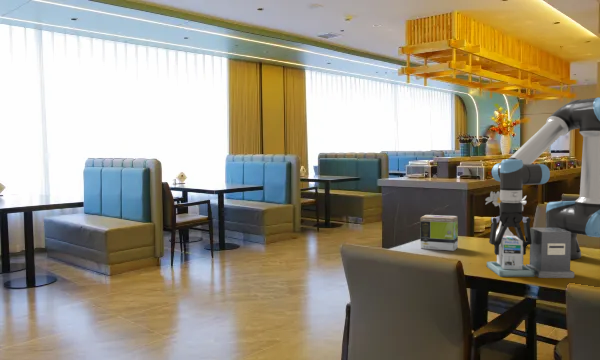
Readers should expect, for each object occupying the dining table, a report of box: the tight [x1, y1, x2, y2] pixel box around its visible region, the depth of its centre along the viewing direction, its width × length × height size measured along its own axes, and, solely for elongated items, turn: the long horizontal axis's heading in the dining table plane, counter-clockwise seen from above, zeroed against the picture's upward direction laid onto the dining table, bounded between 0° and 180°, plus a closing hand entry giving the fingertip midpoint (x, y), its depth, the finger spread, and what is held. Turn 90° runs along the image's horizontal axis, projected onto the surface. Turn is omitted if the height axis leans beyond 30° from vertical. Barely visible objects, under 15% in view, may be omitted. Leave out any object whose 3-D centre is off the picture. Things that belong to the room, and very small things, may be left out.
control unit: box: [525, 227, 575, 279], centre depth 184 cm, size 12×12×16 cm
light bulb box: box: [499, 235, 524, 270], centre depth 188 cm, size 11×7×11 cm, turn 169°
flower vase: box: [485, 190, 527, 240], centre depth 241 cm, size 13×18×25 cm
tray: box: [486, 261, 536, 278], centre depth 188 cm, size 12×15×2 cm
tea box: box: [419, 214, 459, 252], centre depth 232 cm, size 15×10×15 cm, turn 62°
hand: (509, 263), depth 188 cm, fingers closed on light bulb box, 7 cm apart
